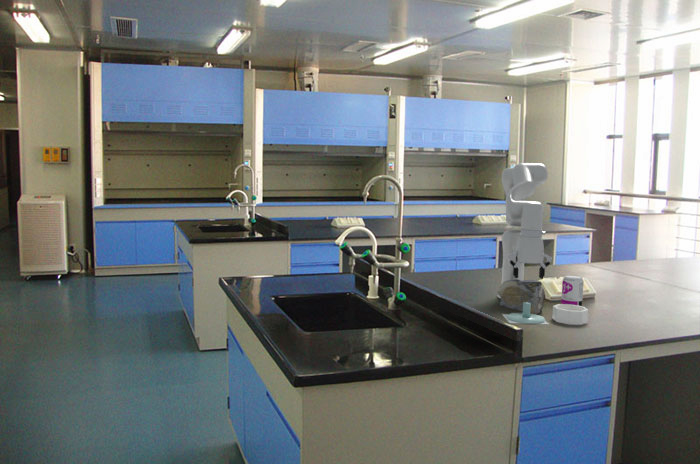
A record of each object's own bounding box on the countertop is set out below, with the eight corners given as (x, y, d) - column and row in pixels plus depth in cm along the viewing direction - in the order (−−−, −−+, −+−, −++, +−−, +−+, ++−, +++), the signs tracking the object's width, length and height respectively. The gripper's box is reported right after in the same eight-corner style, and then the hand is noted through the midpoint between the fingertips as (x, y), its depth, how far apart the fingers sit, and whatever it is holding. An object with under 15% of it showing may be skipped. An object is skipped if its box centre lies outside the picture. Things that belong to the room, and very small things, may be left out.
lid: (504, 314, 235) (504, 298, 234) (538, 315, 234) (539, 299, 234) (512, 323, 221) (513, 306, 220) (549, 324, 221) (550, 307, 220)
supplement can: (568, 314, 238) (571, 278, 236) (556, 310, 246) (558, 275, 244) (585, 314, 240) (588, 278, 238) (573, 309, 248) (575, 274, 246)
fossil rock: (497, 314, 251) (495, 279, 252) (512, 313, 256) (510, 279, 257) (534, 315, 234) (531, 278, 235) (549, 314, 239) (547, 277, 240)
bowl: (549, 317, 233) (550, 303, 233) (579, 318, 233) (580, 304, 232) (559, 324, 221) (560, 310, 221) (590, 325, 221) (591, 311, 220)
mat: (501, 314, 235) (501, 313, 235) (538, 316, 234) (538, 315, 234) (509, 324, 221) (509, 322, 221) (549, 325, 221) (549, 324, 221)
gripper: (550, 234, 228) (548, 277, 229) (506, 232, 228) (503, 275, 230) (556, 235, 220) (554, 280, 222) (510, 234, 221) (508, 278, 222)
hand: (528, 277), depth 226 cm, fingers open, 9 cm apart
